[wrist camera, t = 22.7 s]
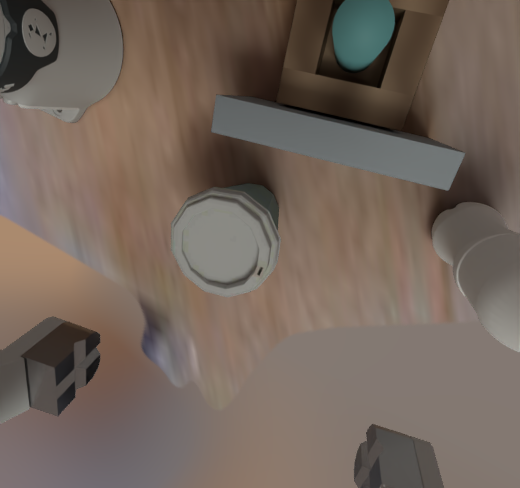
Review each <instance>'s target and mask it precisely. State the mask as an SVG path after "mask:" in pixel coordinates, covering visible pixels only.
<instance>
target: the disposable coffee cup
mask: <svg viewBox="0 0 520 488" xmlns="http://www.w3.org/2000/svg"><path fill="white" fill-rule="evenodd" d="M278 215H279V207H278V204H277V202H276V199H275V197H274V194H272V193H271V192H270V191H269V190H267V189H266V188H265V187H264V186H262V185H256V184H250V183H247V184H241V185H236V186H231V187H226V188H219V187H213V188H210V189H208V190H205V191H203V192H201V193H198V194H196V195H193V196H191V197H188V199H187V200H186V201H185V203H184V204H183V206H182V207H181V209H180V210H179V212H178V214H177V215H176V217H175V218H174V220H173V221H172V223H171V251H172V253H173V255H174V257H175V259H176V261H177V263H178V265H179V266H180V268H181V270H182V272H183V274H184V275H185V276H186V277H188V278H189V279H190V280H191V281H192V282H194V283H195V284H196V285H197V286H198V287H200V288H201V289H202V290H203V291H206V292H209V293H213V294H217V295H221V296H224V297H231V296H235V295H239V294H243V293H247V292H251V291H252V290H255V289H257V288H258V287H259V286H260V285H261V284H262V283H263V282H264V280H265V279H266V278H267V277H268V276H269V275H270V274H271V273H272V271H273V270H274V268H275V266H276V264H277V262H278V255H279V248H280V242H281V238H280V236H279V234H278Z"/></svg>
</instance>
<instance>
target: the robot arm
mask: <svg viewBox="0 0 520 488" xmlns="http://www.w3.org/2000/svg"><path fill="white" fill-rule="evenodd" d="M122 59H123V40H122V33H121V28H120V25H119V21H118V18H117V15H116V13H115V10H114V8H113V6H112V4H111V3H110V1H109V0H0V99H1V98H3V101H4V102H5V103H7V104H11V105H19V107H22V108H28V109H40V110H42V111H44V112H46V113H48V114H50V115H52V116H54V117H56V118H58V119H60V120H63V121H65V122H70V123H75V122H77V121H78V120H79V119H80V118H81V117H82V115H83V114H84V112H85V110H86V109H87V108H88V107H89V106H90V105H92V104H94V103H96V102H98V101H99V100H101V99H102V98H104V97H105V96H106V95H107V94H108V93H109V92H110V91H111V89H112V88H113V86H114V85H115V83H116V81H117V79H118V76H119V74H120V70H121V66H122ZM61 110H62V111H61ZM99 343H100V334H99V333H97V332H95V331H93V330H90V329H87V328H84V327H82V326H79V325H76V324H73V323H71V322H67V321H65V320H62V319H59V318H56V317H49V318H46V319H45V320H43V321H42V322H41V323H39V324H38V325H37V326H35V327H34V328H32V329H31V330H30V331H28V332H27V333H26V334H24V335H23V336H21V337H20V338H19V339H17V340H16V341H15V342H13V343H12V344H10V345H9V346H8V347H6V348H5V349H4V350H0V424H1V423H3V422H5V421H7V420H9V419H10V418H13V417H15V416H16V415H19V414H20V413H23V412H24V411H26V410H28V409H30V407H32V408H35V409H38V410H41V411H44V412H46V413H49V414H53V415H55V416H59V415H60V414H61V412H62V411H63V410H64V409H65V408H66V407H67V406H68V405H69V404H70V402H71V401H72V400H73V399H74V398H75V392H76V389H78V388H81V387H83V386H86V385H87V384H88V382H89V381H90V380H91V379H92V378H93V376H94V374H95V372H96V371H97V369H98V366H99V362H100V353H99V351H98V350H97V348H96V347H97V345H98V344H99ZM366 435H367V441H365V442H363V443H361V444H360V446H359V449H358V451H357V454H356V459H355V466H354V481H355V483H356V485H357V486H358V488H444V486H443V482H442V479H441V475H440V472H439V468H438V464H437V461H436V457H435V453H434V449H433V447H432V445H431V444H430V442H427V441H424V440H420V439H418V438H415V437H411V436H408V435H405V434H403V433H400V432H396V431H393V430H390V429H387V428H384V427H381V426H378V425H375V424H372V425H371V426H370V427H369V429H368V430H367V432H366Z"/></svg>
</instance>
